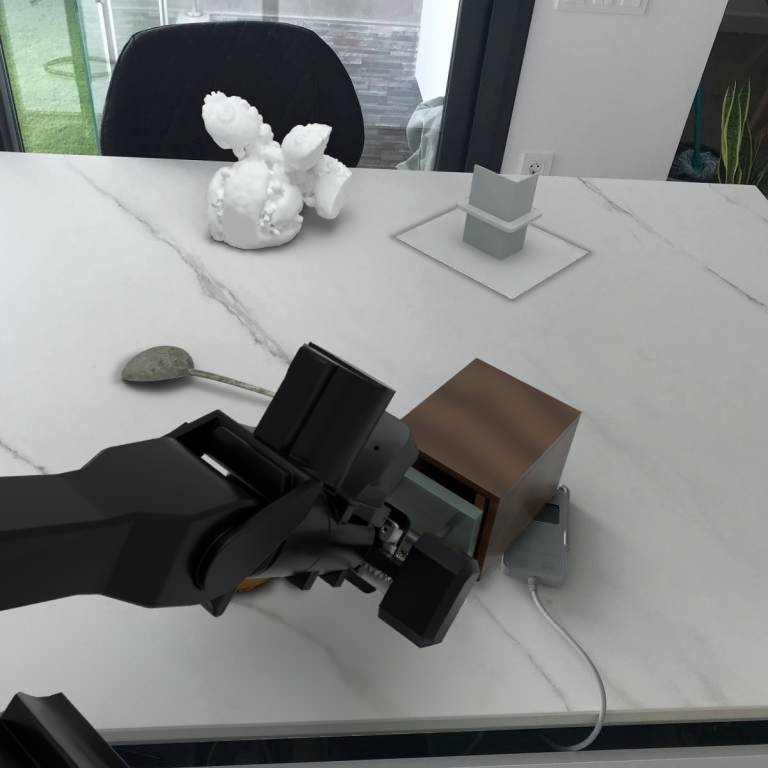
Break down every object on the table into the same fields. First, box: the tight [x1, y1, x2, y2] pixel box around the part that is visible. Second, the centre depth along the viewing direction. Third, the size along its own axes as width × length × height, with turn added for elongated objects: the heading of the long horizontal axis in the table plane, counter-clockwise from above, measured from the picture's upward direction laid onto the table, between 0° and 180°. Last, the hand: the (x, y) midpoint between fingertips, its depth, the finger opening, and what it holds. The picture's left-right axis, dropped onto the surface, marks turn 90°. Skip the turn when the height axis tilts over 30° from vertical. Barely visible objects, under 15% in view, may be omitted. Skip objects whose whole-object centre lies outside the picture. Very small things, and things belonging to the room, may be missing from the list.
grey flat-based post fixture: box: [394, 164, 590, 300], centre depth 107 cm, size 19×21×12 cm
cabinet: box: [399, 357, 583, 582], centre depth 69 cm, size 14×11×11 cm
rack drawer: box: [386, 456, 490, 558], centre depth 66 cm, size 16×10×9 cm, turn 142°
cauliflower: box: [201, 90, 353, 251], centre depth 107 cm, size 19×20×20 cm
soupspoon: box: [121, 345, 276, 399], centre depth 81 cm, size 22×3×7 cm
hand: (389, 532), depth 59 cm, fingers closed, pressing on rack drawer
